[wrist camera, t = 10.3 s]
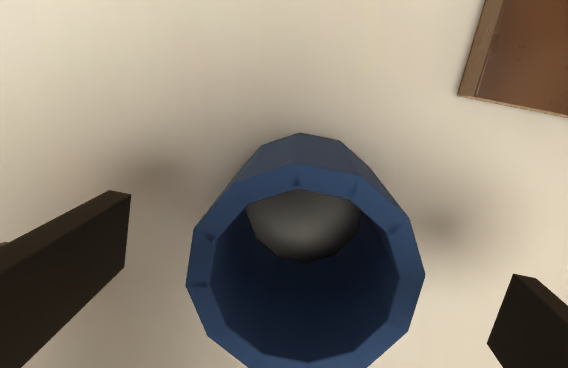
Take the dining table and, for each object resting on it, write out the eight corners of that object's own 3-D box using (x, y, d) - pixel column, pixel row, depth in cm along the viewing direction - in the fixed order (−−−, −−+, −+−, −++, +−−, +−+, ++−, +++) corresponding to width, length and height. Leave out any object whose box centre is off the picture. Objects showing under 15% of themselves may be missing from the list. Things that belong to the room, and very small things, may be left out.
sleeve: (222, 258, 21) (174, 355, 14) (245, 121, 20) (205, 144, 12) (358, 286, 21) (387, 399, 14) (394, 151, 20) (452, 194, 12)
